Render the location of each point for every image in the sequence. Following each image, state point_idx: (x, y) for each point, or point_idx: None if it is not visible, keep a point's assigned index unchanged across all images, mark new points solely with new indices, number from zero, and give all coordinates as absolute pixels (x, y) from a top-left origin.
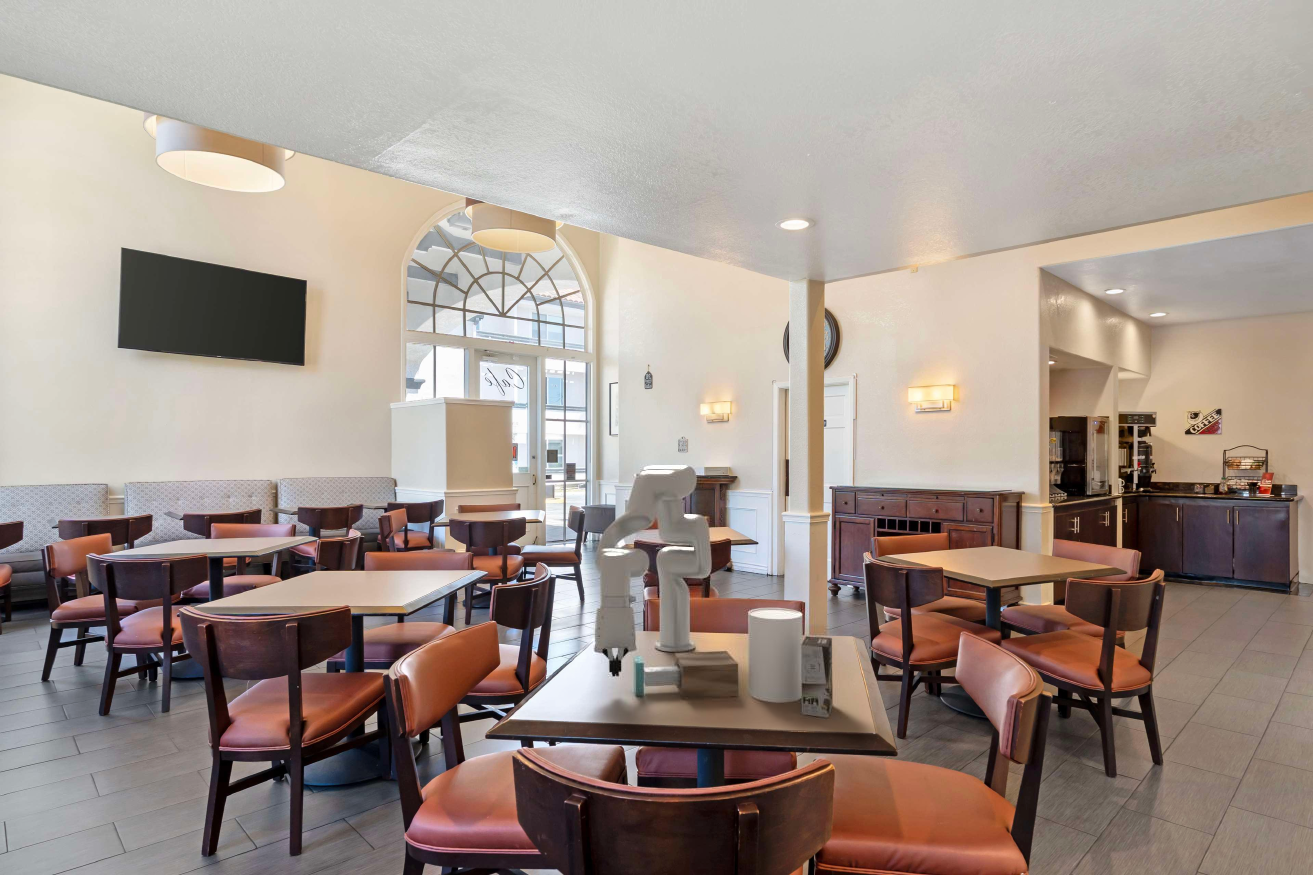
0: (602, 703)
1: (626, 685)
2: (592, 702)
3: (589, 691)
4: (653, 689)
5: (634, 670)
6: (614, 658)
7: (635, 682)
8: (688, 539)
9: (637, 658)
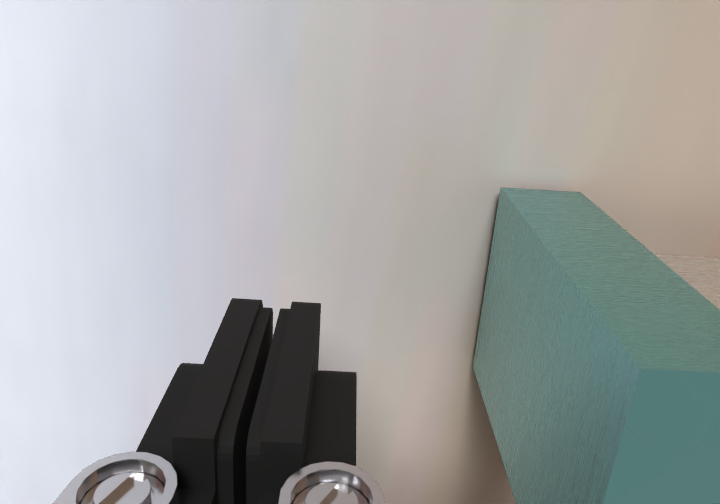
0: None
1: (459, 11)
2: (95, 411)
3: (43, 132)
4: (693, 205)
5: (546, 379)
6: (229, 475)
7: (500, 403)
8: None
9: (682, 446)
